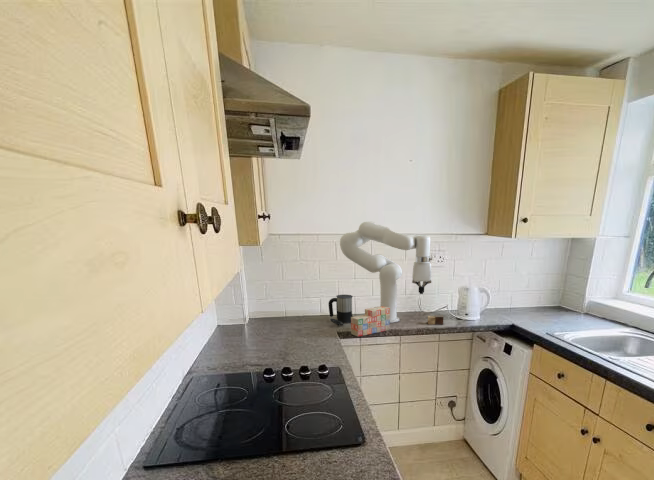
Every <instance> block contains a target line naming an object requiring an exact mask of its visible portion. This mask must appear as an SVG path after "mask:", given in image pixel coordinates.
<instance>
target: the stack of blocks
mask: <svg viewBox="0 0 654 480" xmlns="http://www.w3.org/2000/svg"><path fill="white" fill-rule="evenodd" d="M380 306H381V305H380ZM380 306H374V307H368V308H364V314H362V315H355V316H352V317H351V322H350V335H353V336H355V337H363V336H367V335H373V334H378V333H382V332H387V331H390V324H391V323H390V308H388V307H384V306H381V307H380Z"/></svg>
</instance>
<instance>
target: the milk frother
mask: <svg viewBox="0 0 654 480" xmlns="http://www.w3.org/2000/svg"><path fill="white" fill-rule="evenodd" d="M334 302H335V303H336V319H335V318H332V317H333V316H334V307H333V306H334V305H333V303H334ZM328 312H329V313H328V314H329V317H330V319H329V320H330V322H331V323H332V324H335V325H337V326H343V325H344V324H348V323H351V317H353V295H351V294H337V295H335V297H332V298H330V299H329V301H328Z"/></svg>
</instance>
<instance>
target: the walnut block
mask: <svg viewBox="0 0 654 480" xmlns="http://www.w3.org/2000/svg"><path fill="white" fill-rule="evenodd" d="M434 316H435V326H438V325H441V326H442V325H444V318H445V317H444V315H443V314H434Z"/></svg>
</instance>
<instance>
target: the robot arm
mask: <svg viewBox="0 0 654 480" xmlns="http://www.w3.org/2000/svg"><path fill="white" fill-rule="evenodd" d="M431 239H432V238H431V236H430V235H426V234H425V235H422V234H421V235H417V234H403V233H398V232H395V231H393V230H392V229H390V227H388V226H384V225H381V224H377V223H376V222H375V221H363V222H362V223H360V225H359V226H358V229H357V230H356V231H353V232H352V231H351V232H346V233H344V234H343V235H342V236H341V237H340V240H339V247H340V250H341V252H342V254H343V255H344V256H345V257H346V258H347V259H348V260H350V261H352V262H353V263H355V264H357V265H358V266H360V267H361V268H363V269H364V270H366V271H368V272H369V273H371V274H372V273H373V274H375V273H378V272H379V275H378V276H379V277H378V279H379V287H380V290H379V292H380V293H379V294H380V306H379V307H381V306H384V307H388V308H390V324H392V323H393V324H394V323H397V322H400V317H398V315H397V313H398V285H397V280H399V279H400V278H401V277H402V275H403V270H402V267H401V265H400V264H398V263H397V262H395V261H393V260H392V259H390V258H389V257H386V256H385V255H382V254H380V253H379V254H378V253H377V254H371V253H370V252H368V251H366V250H364V249H362V248H360V247H361V246H363V245H365V244H366V243H368V242H370V241H374V242H378V243H381V244H384V245H386V246H388V247H392V248H395V249H397V250H402V251H410V250H413V249H415V261H414V262H413V265H412V266H413V267H412V280H411V283H412V284H415V285H417V287H418V293H419V295H424V294H425V287H426V286H428V284H432V263H431V261H433V257H431V241H432V240H431ZM421 282H422V284H421Z"/></svg>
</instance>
